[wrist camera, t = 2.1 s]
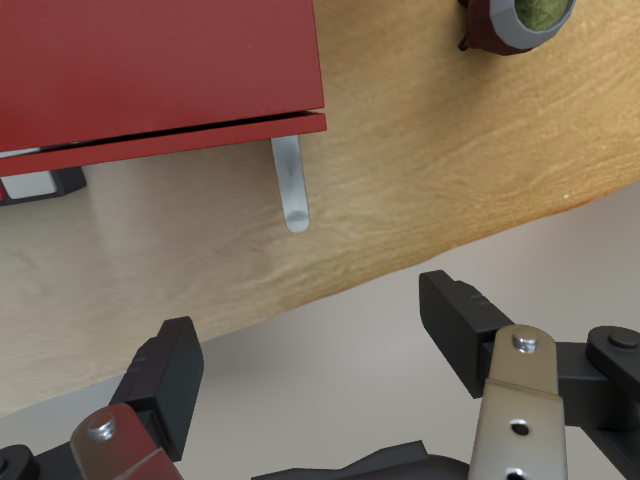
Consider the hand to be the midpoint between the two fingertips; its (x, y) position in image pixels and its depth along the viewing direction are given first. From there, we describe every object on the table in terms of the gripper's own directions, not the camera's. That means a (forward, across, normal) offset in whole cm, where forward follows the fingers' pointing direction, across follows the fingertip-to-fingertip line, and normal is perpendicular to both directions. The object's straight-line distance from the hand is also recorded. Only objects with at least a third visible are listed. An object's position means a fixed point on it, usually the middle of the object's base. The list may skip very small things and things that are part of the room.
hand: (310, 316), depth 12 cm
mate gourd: (+25, -20, -12) cm, 34 cm away
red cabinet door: (+25, +6, -3) cm, 25 cm away
